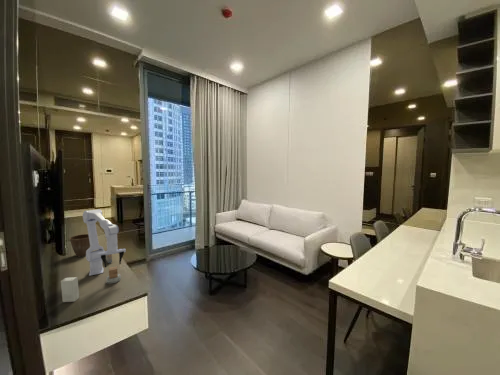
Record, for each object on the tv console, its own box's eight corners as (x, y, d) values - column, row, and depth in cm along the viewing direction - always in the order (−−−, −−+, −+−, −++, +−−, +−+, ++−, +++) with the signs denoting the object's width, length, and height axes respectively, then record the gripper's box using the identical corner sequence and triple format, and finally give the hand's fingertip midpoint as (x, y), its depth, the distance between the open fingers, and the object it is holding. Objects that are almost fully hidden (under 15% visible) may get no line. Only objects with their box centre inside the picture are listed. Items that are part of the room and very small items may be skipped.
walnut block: (109, 276, 140) (109, 267, 140) (117, 274, 142) (117, 266, 142) (109, 279, 136) (108, 270, 136) (117, 277, 139) (117, 268, 138)
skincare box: (79, 297, 121) (78, 276, 120) (73, 302, 116) (72, 280, 115) (67, 298, 120) (66, 276, 119) (61, 302, 115) (60, 280, 115)
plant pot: (97, 252, 190) (96, 234, 189) (82, 258, 175) (81, 239, 174) (81, 251, 191) (80, 233, 190) (65, 258, 177) (64, 238, 175)
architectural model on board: (112, 263, 168) (112, 250, 167) (108, 264, 166) (107, 251, 165) (110, 258, 176) (109, 247, 176) (105, 259, 174) (105, 247, 174)
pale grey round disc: (106, 280, 141) (106, 275, 141) (120, 276, 145) (120, 272, 145) (106, 285, 134) (106, 280, 134) (121, 281, 139) (120, 277, 138)
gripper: (98, 248, 131) (99, 270, 132) (125, 244, 139) (126, 264, 140) (98, 245, 137) (99, 265, 138) (125, 241, 145) (125, 260, 146)
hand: (113, 265), depth 139 cm, fingers open, 7 cm apart
